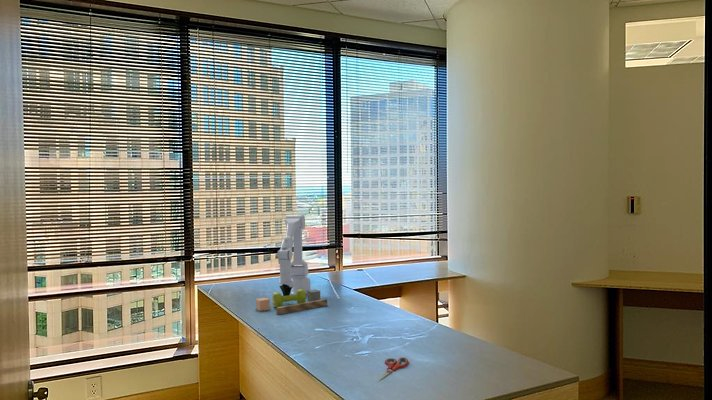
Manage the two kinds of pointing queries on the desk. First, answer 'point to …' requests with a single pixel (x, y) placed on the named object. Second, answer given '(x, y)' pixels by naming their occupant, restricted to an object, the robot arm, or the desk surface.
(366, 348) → the desk surface
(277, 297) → the dumbbell
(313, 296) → the charcoal block
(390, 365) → the scissors
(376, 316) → the desk surface
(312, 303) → the bar
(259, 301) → the terracotta block
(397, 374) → the desk surface
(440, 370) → the desk surface
